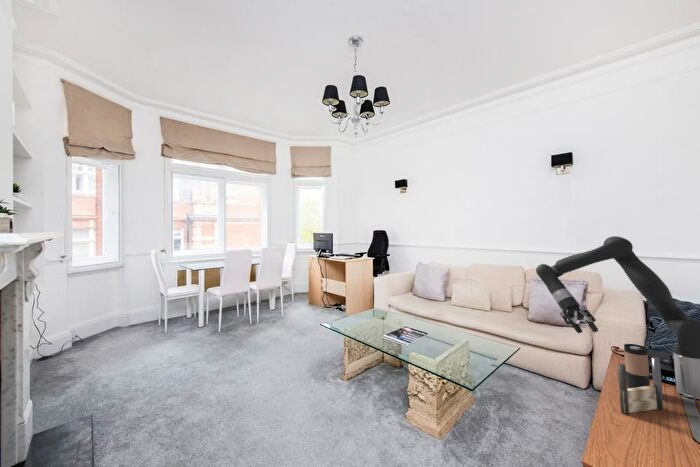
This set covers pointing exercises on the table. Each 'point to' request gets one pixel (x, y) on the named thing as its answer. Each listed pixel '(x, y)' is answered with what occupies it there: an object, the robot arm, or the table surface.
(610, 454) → the table surface
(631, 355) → the travel mug
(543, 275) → the robot arm
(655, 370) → the gate post
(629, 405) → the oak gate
